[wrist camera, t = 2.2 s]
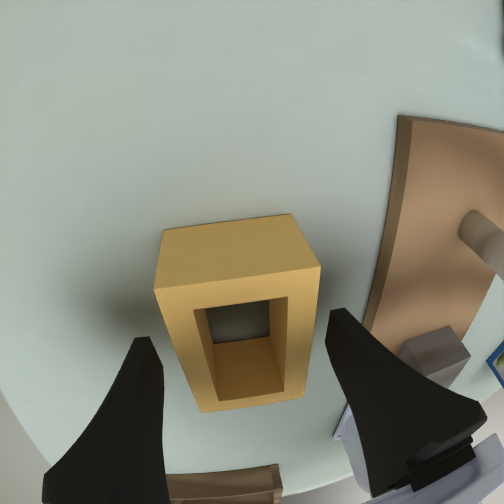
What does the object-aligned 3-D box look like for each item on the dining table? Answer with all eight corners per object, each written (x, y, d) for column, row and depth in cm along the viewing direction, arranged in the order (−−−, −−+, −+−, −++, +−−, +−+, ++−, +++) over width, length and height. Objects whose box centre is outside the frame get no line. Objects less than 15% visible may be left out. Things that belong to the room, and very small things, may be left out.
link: (287, 344, 16) (303, 396, 14) (197, 357, 16) (201, 412, 13) (291, 213, 12) (320, 266, 9) (163, 230, 11) (153, 289, 9)
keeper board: (446, 348, 21) (473, 391, 17) (344, 382, 20) (366, 439, 16) (522, 136, 11) (585, 171, 7) (398, 115, 10) (491, 155, 6)
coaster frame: (275, 486, 39) (279, 504, 37) (179, 496, 38) (181, 513, 35) (277, 463, 30) (283, 488, 27) (146, 474, 29) (146, 498, 26)
